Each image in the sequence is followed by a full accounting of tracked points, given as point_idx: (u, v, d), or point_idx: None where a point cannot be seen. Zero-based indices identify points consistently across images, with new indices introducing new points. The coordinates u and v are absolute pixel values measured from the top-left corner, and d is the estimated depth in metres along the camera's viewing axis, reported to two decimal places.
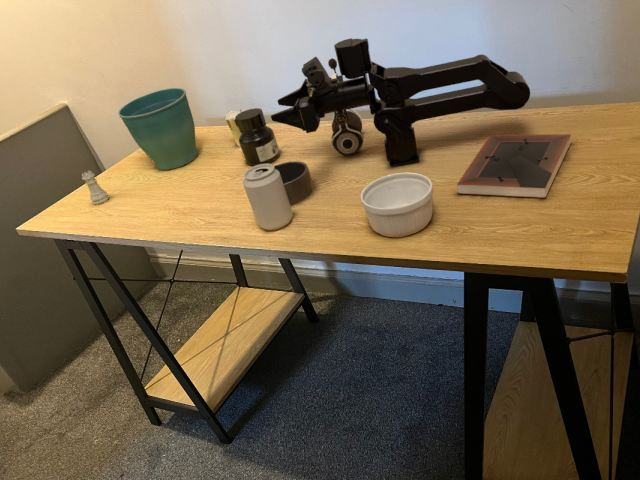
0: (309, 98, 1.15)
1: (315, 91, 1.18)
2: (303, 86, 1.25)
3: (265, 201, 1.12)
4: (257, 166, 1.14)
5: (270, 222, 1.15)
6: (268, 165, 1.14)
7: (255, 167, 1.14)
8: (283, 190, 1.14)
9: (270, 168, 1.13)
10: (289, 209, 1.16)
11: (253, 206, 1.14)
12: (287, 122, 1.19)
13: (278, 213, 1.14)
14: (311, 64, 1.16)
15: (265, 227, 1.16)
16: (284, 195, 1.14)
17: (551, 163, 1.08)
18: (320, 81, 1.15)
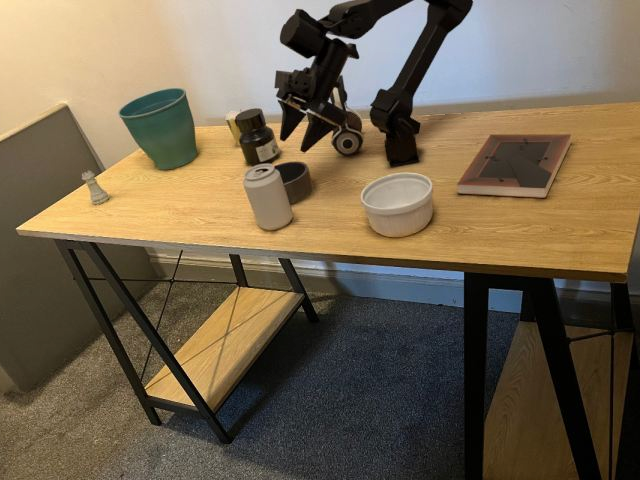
0: (315, 100, 1.05)
1: (308, 93, 1.07)
2: (285, 106, 1.15)
3: (265, 201, 1.12)
4: (257, 166, 1.14)
5: (270, 222, 1.15)
6: (268, 165, 1.14)
7: (255, 167, 1.14)
8: (283, 190, 1.14)
9: (270, 168, 1.13)
10: (289, 209, 1.16)
11: (253, 206, 1.14)
12: (317, 139, 1.09)
13: (278, 213, 1.14)
14: (285, 77, 1.05)
15: (265, 227, 1.16)
16: (284, 195, 1.14)
17: (551, 163, 1.08)
18: (306, 80, 1.05)
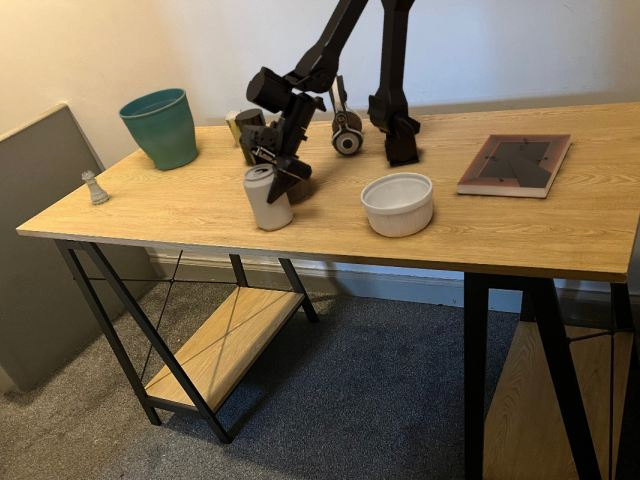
0: (281, 156, 1.06)
1: (275, 147, 1.09)
2: (256, 158, 1.15)
3: (265, 201, 1.12)
4: (257, 166, 1.14)
5: (269, 222, 1.15)
6: (268, 165, 1.14)
7: (255, 167, 1.14)
8: None
9: (270, 168, 1.13)
10: (289, 209, 1.16)
11: (253, 206, 1.14)
12: (283, 191, 1.11)
13: (278, 213, 1.14)
14: (251, 133, 1.06)
15: (265, 227, 1.16)
16: (284, 195, 1.14)
17: (551, 163, 1.08)
18: (272, 136, 1.06)
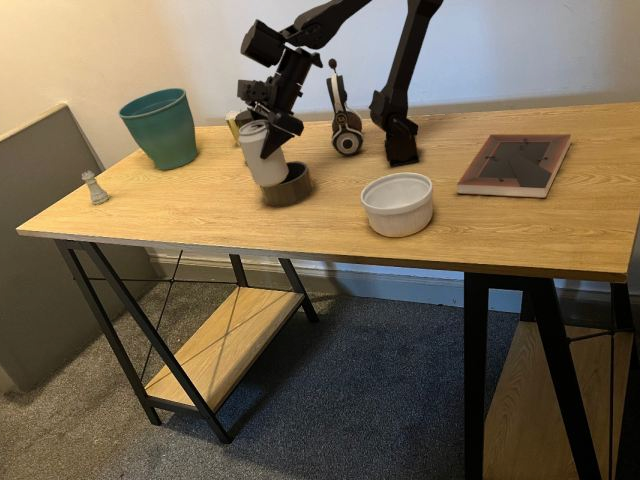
0: (272, 111, 1.06)
1: (268, 102, 1.09)
2: (253, 114, 1.16)
3: (258, 156, 1.13)
4: (254, 122, 1.15)
5: (264, 178, 1.16)
6: None
7: (251, 123, 1.15)
8: None
9: None
10: (284, 166, 1.17)
11: (248, 162, 1.15)
12: (276, 146, 1.12)
13: (271, 169, 1.15)
14: (244, 87, 1.07)
15: (260, 183, 1.17)
16: (278, 152, 1.15)
17: (551, 163, 1.08)
18: (264, 90, 1.06)
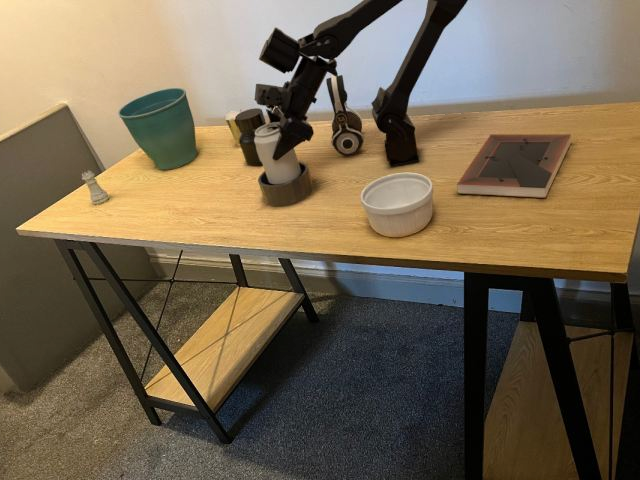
0: (284, 116, 1.12)
1: (282, 107, 1.15)
2: (270, 116, 1.22)
3: (271, 157, 1.19)
4: (270, 124, 1.21)
5: (276, 178, 1.22)
6: (279, 123, 1.20)
7: (268, 124, 1.21)
8: None
9: None
10: (296, 167, 1.23)
11: (262, 161, 1.22)
12: (288, 149, 1.17)
13: (283, 169, 1.21)
14: (259, 92, 1.13)
15: (272, 182, 1.23)
16: (291, 153, 1.21)
17: (551, 163, 1.08)
18: (278, 95, 1.12)
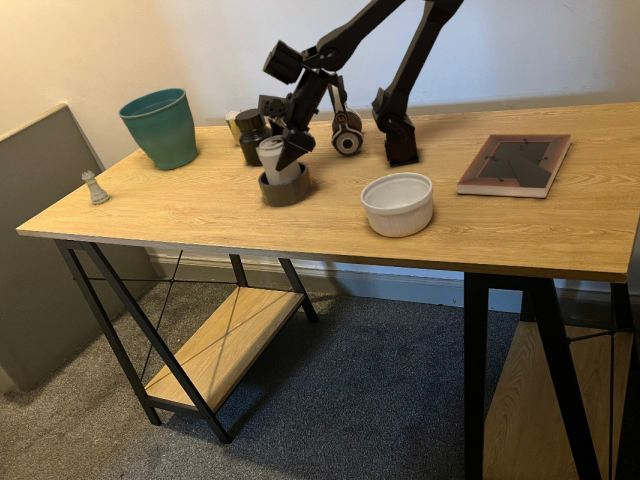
0: (287, 127, 1.14)
1: (285, 118, 1.16)
2: (272, 125, 1.24)
3: (275, 170, 1.21)
4: (274, 137, 1.23)
5: None
6: None
7: (272, 138, 1.23)
8: (294, 161, 1.22)
9: None
10: None
11: (266, 174, 1.23)
12: (291, 160, 1.18)
13: None
14: (263, 103, 1.14)
15: None
16: (295, 166, 1.22)
17: (551, 163, 1.08)
18: (281, 107, 1.14)
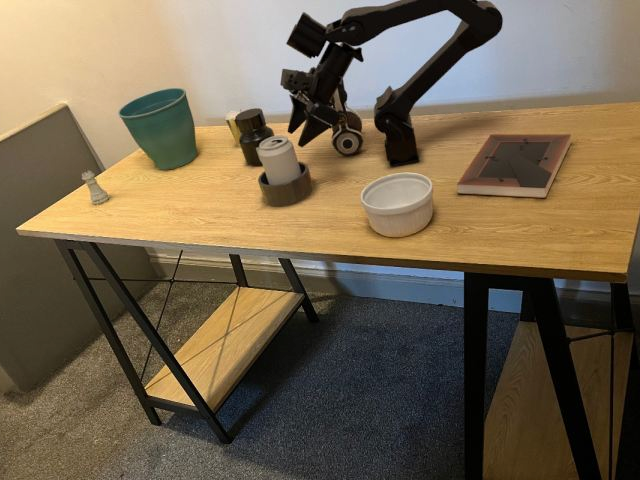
0: (311, 100, 1.12)
1: (309, 92, 1.15)
2: (294, 101, 1.23)
3: (275, 170, 1.21)
4: (274, 137, 1.23)
5: None
6: (284, 137, 1.22)
7: (272, 138, 1.23)
8: (294, 161, 1.22)
9: (284, 140, 1.21)
10: None
11: (266, 174, 1.23)
12: (314, 135, 1.17)
13: None
14: (286, 76, 1.13)
15: None
16: (295, 166, 1.22)
17: (551, 163, 1.08)
18: (305, 80, 1.12)
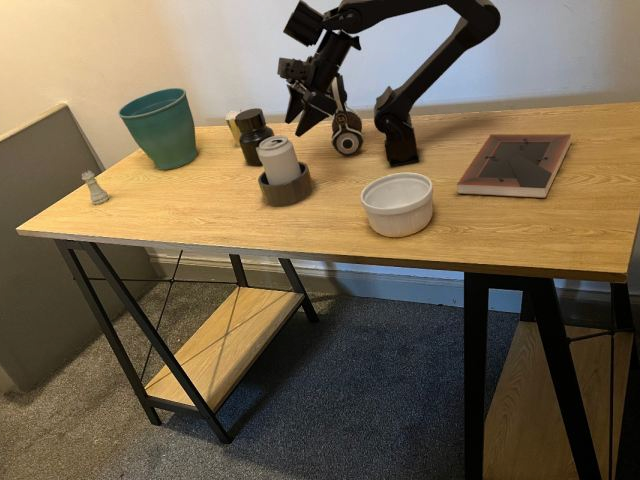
0: (308, 89, 1.11)
1: (306, 81, 1.14)
2: (291, 91, 1.22)
3: (275, 170, 1.21)
4: (274, 137, 1.23)
5: None
6: (284, 137, 1.22)
7: (272, 138, 1.23)
8: (294, 161, 1.22)
9: (284, 140, 1.21)
10: None
11: (266, 174, 1.23)
12: (311, 125, 1.16)
13: None
14: (283, 65, 1.12)
15: None
16: (295, 166, 1.22)
17: (551, 163, 1.08)
18: (302, 69, 1.11)
